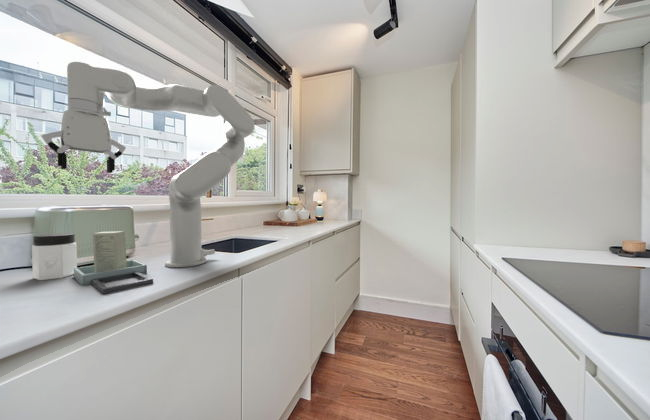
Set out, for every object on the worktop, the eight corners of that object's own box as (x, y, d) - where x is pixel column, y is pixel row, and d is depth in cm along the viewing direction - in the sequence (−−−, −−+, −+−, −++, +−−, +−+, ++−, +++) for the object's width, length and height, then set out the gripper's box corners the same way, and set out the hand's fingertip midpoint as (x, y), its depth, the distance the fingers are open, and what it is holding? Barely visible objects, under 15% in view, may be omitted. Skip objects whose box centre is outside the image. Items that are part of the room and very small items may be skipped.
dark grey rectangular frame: (137, 275, 73) (137, 271, 73) (153, 283, 66) (153, 278, 66) (91, 284, 65) (91, 279, 65) (103, 294, 58) (103, 289, 58)
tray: (133, 267, 83) (133, 259, 82) (146, 273, 75) (146, 265, 75) (73, 276, 71) (73, 268, 71) (82, 285, 64) (82, 275, 64)
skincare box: (127, 270, 76) (126, 230, 76) (117, 274, 71) (117, 232, 71) (103, 271, 75) (103, 231, 74) (92, 275, 70) (91, 232, 70)
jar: (26, 282, 66) (25, 237, 66) (38, 275, 73) (37, 234, 73) (73, 277, 71) (72, 235, 71) (80, 270, 78) (79, 232, 78)
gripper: (120, 121, 80) (121, 174, 81) (39, 104, 66) (40, 168, 67) (128, 116, 76) (129, 173, 76) (42, 96, 62) (44, 166, 62)
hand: (88, 170), depth 72 cm, fingers open, 9 cm apart
